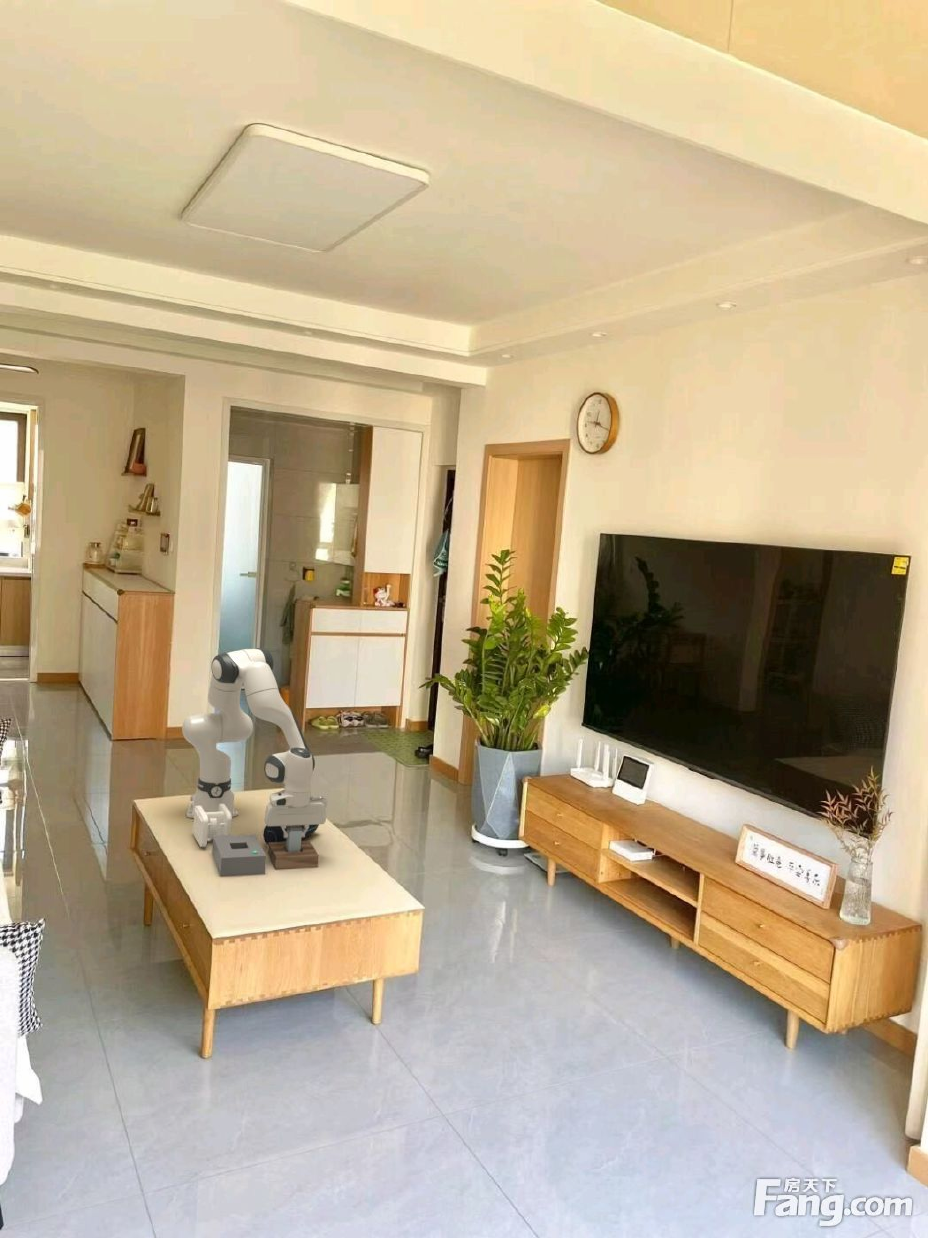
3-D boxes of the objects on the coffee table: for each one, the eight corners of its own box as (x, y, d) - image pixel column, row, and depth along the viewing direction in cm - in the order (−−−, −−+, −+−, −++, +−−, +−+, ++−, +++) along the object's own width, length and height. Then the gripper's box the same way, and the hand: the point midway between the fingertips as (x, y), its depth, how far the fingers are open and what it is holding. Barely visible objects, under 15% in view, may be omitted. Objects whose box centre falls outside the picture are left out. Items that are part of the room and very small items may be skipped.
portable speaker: (298, 829, 353) (300, 802, 352) (321, 835, 349) (323, 808, 348) (257, 848, 330) (258, 820, 329) (281, 855, 326) (283, 826, 325)
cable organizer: (231, 848, 328) (233, 815, 326) (199, 851, 323) (201, 817, 322) (221, 833, 341) (223, 802, 340) (191, 835, 336) (193, 803, 335)
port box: (212, 853, 322) (213, 835, 321) (254, 851, 327) (255, 833, 326) (220, 876, 303) (221, 856, 302) (264, 873, 308) (266, 854, 308)
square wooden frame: (267, 854, 326) (268, 842, 325) (308, 851, 331) (309, 840, 330) (275, 869, 313) (276, 857, 312) (317, 867, 318) (318, 855, 318)
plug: (285, 853, 323) (287, 824, 322) (297, 852, 324) (299, 824, 323) (288, 857, 319) (290, 828, 318) (299, 857, 321) (302, 828, 320)
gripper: (325, 793, 326) (322, 832, 328) (265, 795, 319) (262, 835, 320) (329, 799, 321) (326, 839, 322) (268, 801, 313) (265, 842, 314)
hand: (294, 837), depth 321 cm, fingers closed on plug, 4 cm apart
